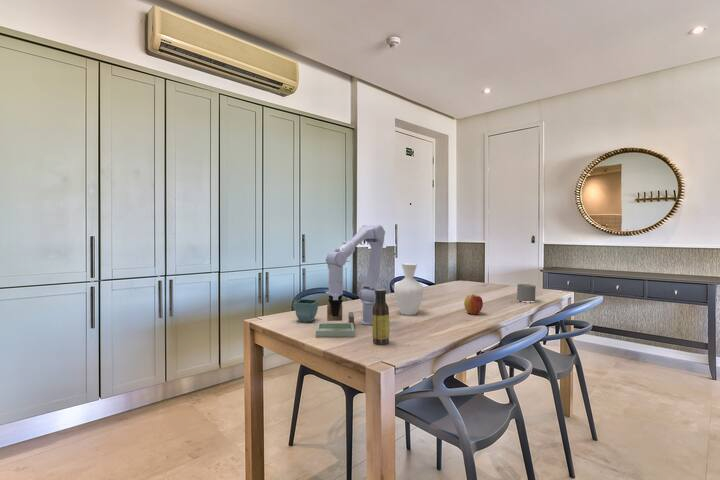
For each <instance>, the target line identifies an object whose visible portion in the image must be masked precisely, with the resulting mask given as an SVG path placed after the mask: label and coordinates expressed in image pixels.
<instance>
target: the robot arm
mask: <svg viewBox="0 0 720 480" xmlns="http://www.w3.org/2000/svg"><path fill="white" fill-rule="evenodd" d="M385 235H386V231H385V229H384V227H383V225H380V224H378V225H375V224H374V225H371V224H369V225H368V224H367V225H366V224H363V225H361V227H359V229H358V232H357V233H355V235H354V236H352V238H350V240H344V241H342V243H341V244H340V245H339V246H338V247H336V248H335V250H334V251H329V253H327V255H326V258H325V262H326V264H327V269H328V291H325V294H326V295H328V297H329V298H328V303H330V305H331V310H332V316H333V317H338V314H339V309H340V305H341V303H342V304H343V300H344V299H342V298H343V295H344V292H343V287H344V286H343V284H344V283H343V282H344V281H343V279H344V266H345V265H346V263H347V260H348V258H349V257H350V256H351V255H352V254H353V253H355V251H356V247H357V246H359V245H360V244H361V243H362V242H364V241H365V242H366V243H367V244H368V245H369V246H370V252H369V258H368V266H367V267H368V268H367V273H366V281H364V282H363V283H362V284H361V287H360V290H359V292H358V298H359V300H360V301H361V303H362V319H360V321H361V324H362V325H368V326H369V325H373V320H372V314H373V306H374V304H375V302H376V301H375V300H376V294H375V290H376V289H384V288H383V286H382V285H381V284H380V282H379V278H380V272H381V271H380V270H381V264H382V258H383V257H382V256H383V255H382V254H383V249H384V243H385Z"/></svg>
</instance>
